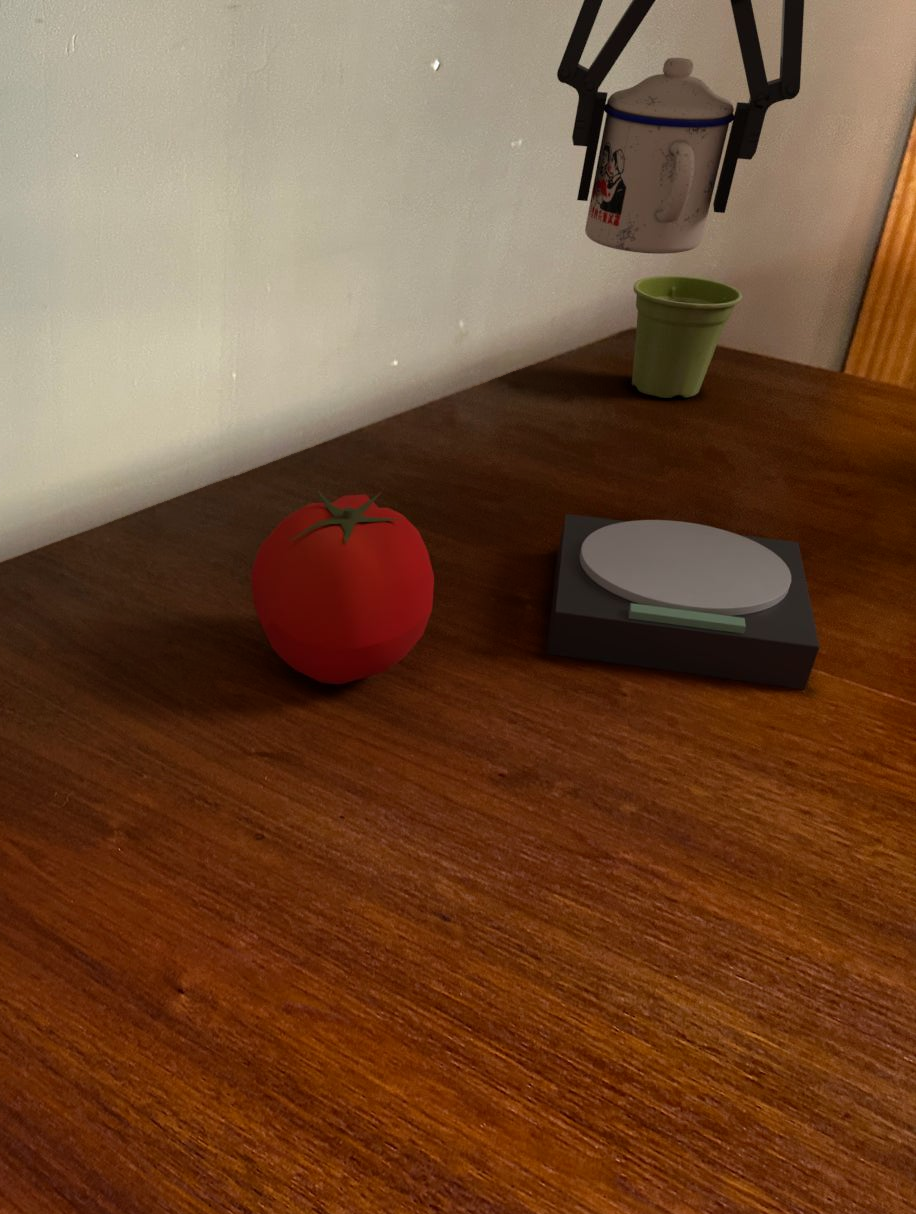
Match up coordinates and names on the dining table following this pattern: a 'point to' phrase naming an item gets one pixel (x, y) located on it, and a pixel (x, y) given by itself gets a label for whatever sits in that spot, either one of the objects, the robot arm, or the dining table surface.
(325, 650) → the tomato
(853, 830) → the dining table surface
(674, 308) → the plant pot
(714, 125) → the teacup with lid
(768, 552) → the scale
